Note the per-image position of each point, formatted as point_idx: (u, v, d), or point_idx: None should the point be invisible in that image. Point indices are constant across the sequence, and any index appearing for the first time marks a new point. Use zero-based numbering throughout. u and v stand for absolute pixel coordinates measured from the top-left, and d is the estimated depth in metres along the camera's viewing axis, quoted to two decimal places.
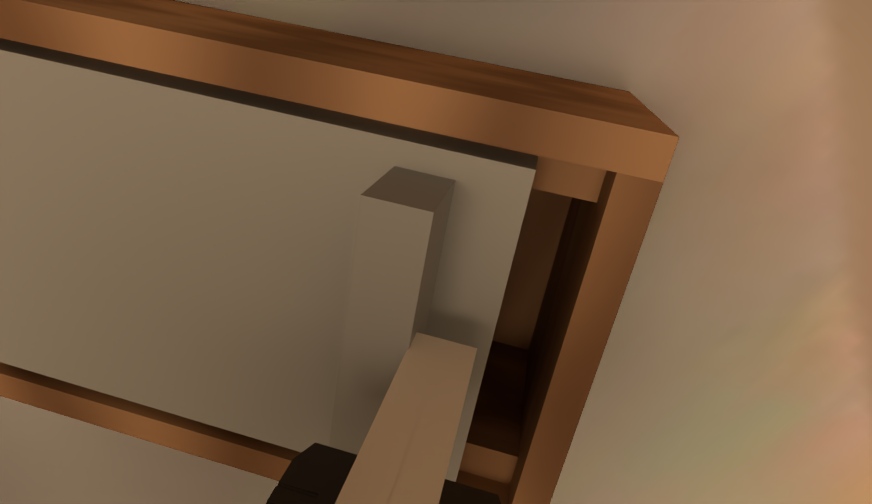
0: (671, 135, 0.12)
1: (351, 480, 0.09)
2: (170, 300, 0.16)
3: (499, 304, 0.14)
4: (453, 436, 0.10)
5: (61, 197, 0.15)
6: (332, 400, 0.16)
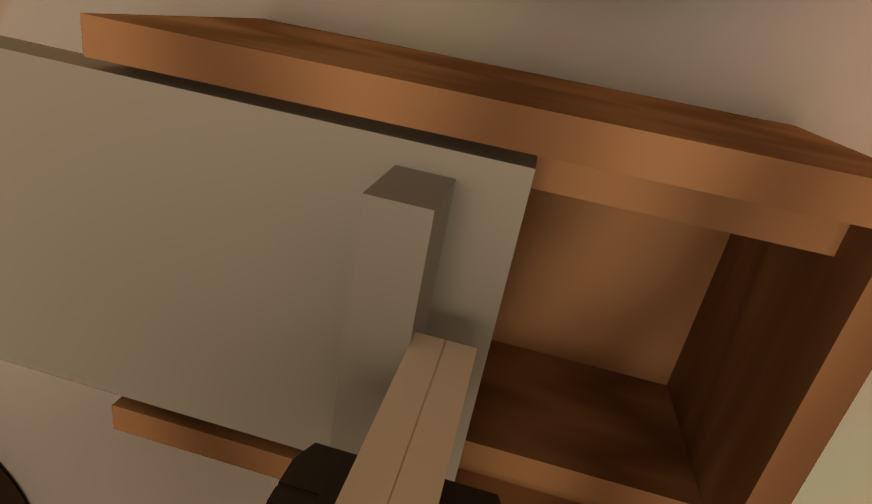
0: None
1: (351, 480, 0.09)
2: (171, 298, 0.16)
3: (499, 302, 0.14)
4: (453, 436, 0.10)
5: (63, 195, 0.16)
6: (332, 397, 0.16)
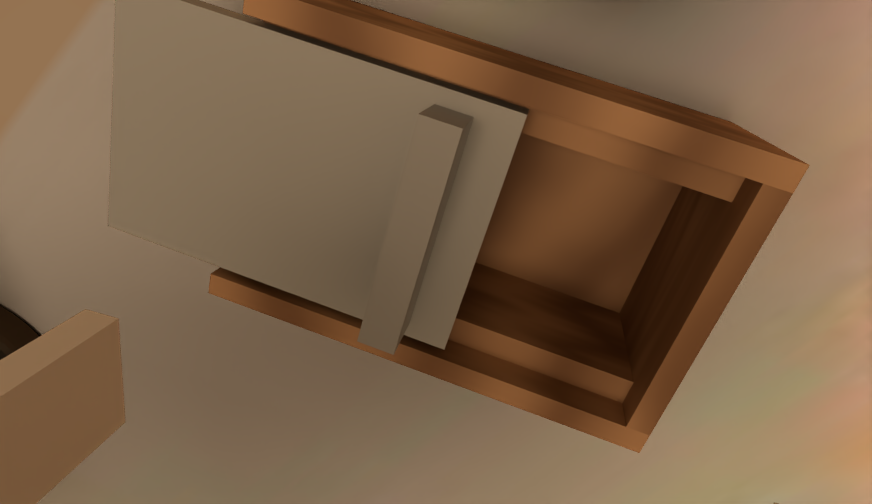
0: (804, 163, 0.18)
1: None
2: (259, 189, 0.22)
3: (493, 206, 0.21)
4: None
5: (191, 105, 0.22)
6: (367, 271, 0.23)
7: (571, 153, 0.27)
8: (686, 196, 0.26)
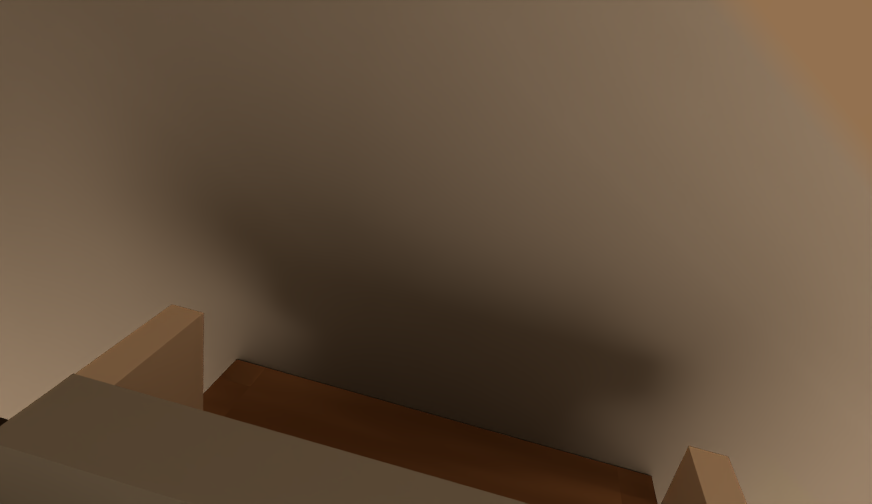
0: None
1: None
2: None
3: None
4: None
5: None
6: None
7: None
8: None
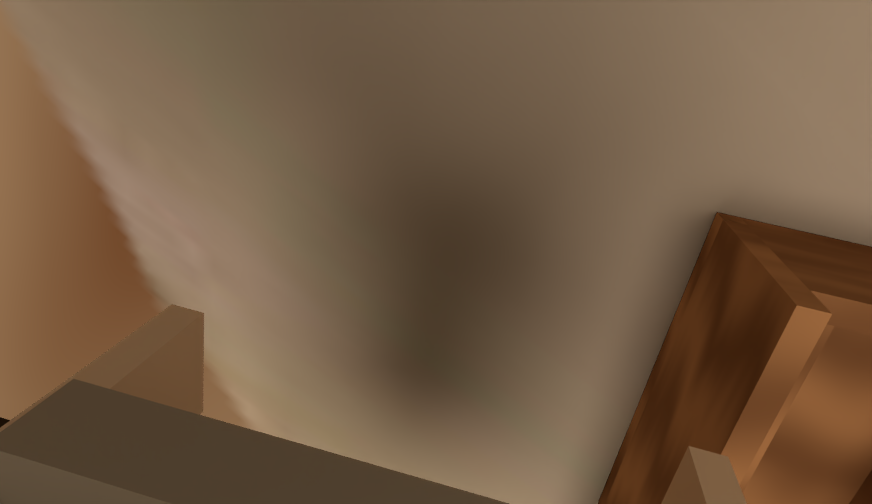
0: None
1: None
2: None
3: None
4: None
5: None
6: None
7: None
8: None
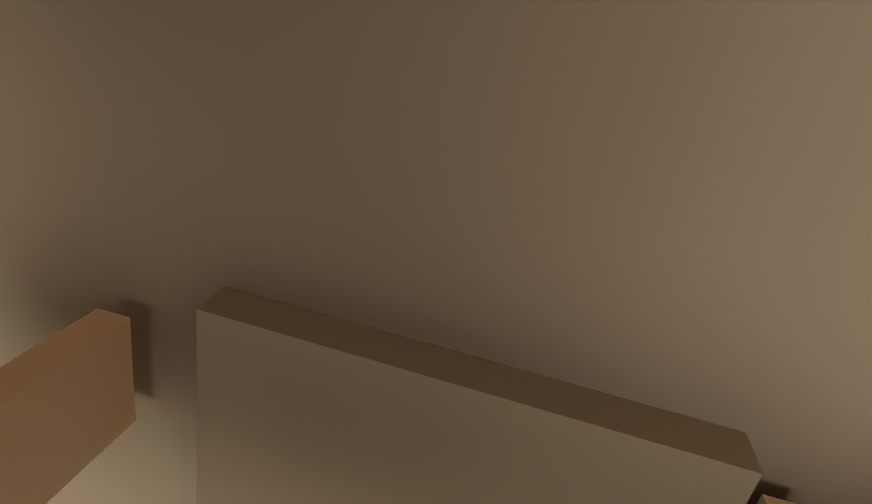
0: None
1: None
2: None
3: None
4: None
5: None
6: None
7: None
8: None
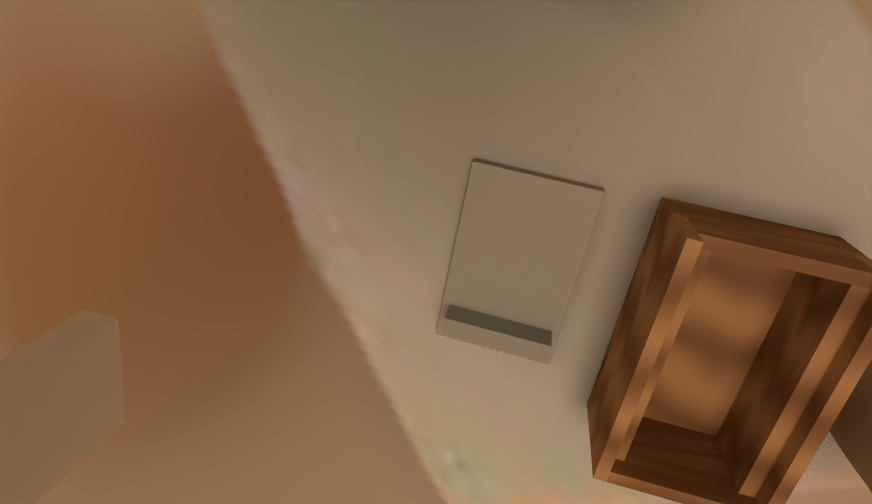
0: None
1: None
2: (505, 252, 0.45)
3: (509, 353, 0.49)
4: None
5: (544, 222, 0.44)
6: (470, 301, 0.48)
7: (724, 380, 0.46)
8: (703, 442, 0.47)
